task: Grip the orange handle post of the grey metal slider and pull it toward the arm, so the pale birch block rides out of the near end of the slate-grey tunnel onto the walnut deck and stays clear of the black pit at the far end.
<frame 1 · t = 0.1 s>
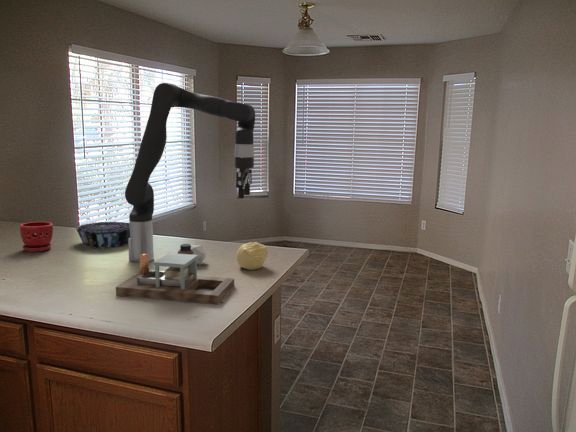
hand: (244, 196, 190), 29 cm above the worktop, tool pointing down, fingers open, 8 cm apart
die: (195, 264, 199), on the worktop
supplement bottle: (185, 273, 186), on the worktop
slider: (164, 268, 165), point 8 cm above the worktop, slide at 0.0 cm
plant pot: (38, 249, 216), on the worktop
decorative bowl: (106, 243, 230), on the worktop
tunnel: (176, 270, 165), on the deck, point 7 cm above the worktop
deck: (177, 290, 166), on the worktop
block: (177, 282, 165), point 3 cm above the worktop, touching deck
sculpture: (251, 268, 195), on the worktop
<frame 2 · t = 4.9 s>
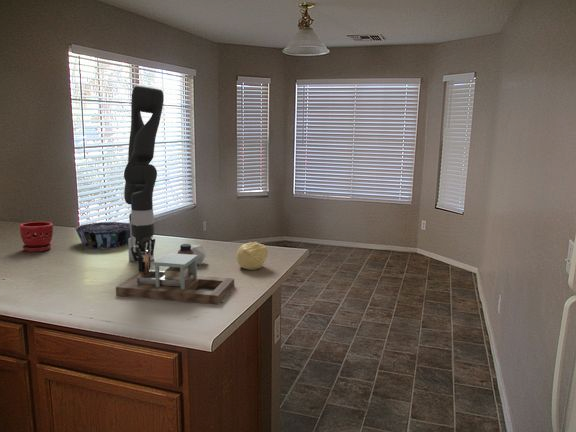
hand: (144, 270, 167), 7 cm above the worktop, tool pointing down, fingers closed on slider, 3 cm apart
slider: (164, 268, 165), point 8 cm above the worktop, slide at 0.0 cm, touching gripper
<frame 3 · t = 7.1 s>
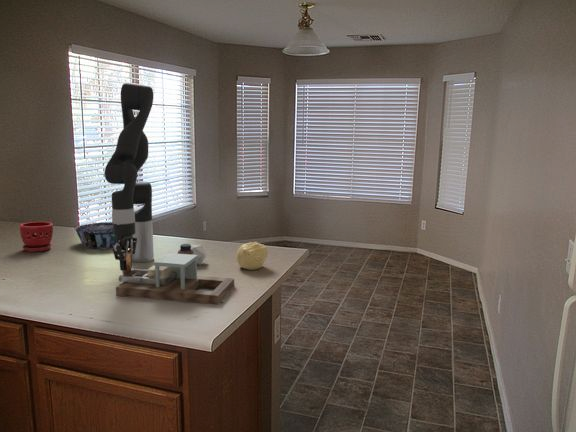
hand: (126, 268, 168), 7 cm above the worktop, tool pointing down, fingers closed on slider, 3 cm apart
slider: (146, 267, 167), point 8 cm above the worktop, slide at 6.9 cm, touching gripper
block: (160, 281, 167), point 3 cm above the worktop, touching deck
everything else where it was.
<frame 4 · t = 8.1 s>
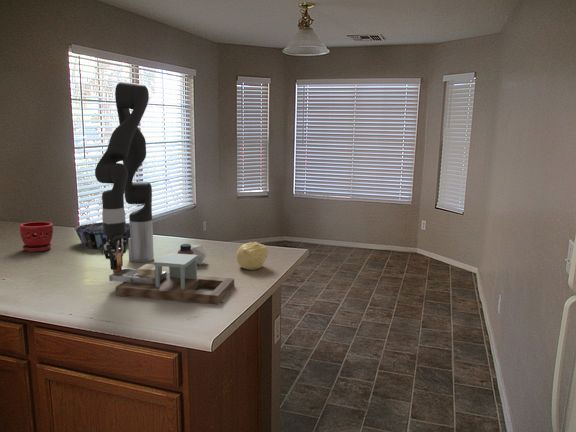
hand: (116, 267, 169), 7 cm above the worktop, tool pointing down, fingers closed on slider, 3 cm apart
slider: (136, 266, 167), point 8 cm above the worktop, slide at 10.4 cm, touching block, gripper
block: (150, 280, 167), point 3 cm above the worktop, touching slider
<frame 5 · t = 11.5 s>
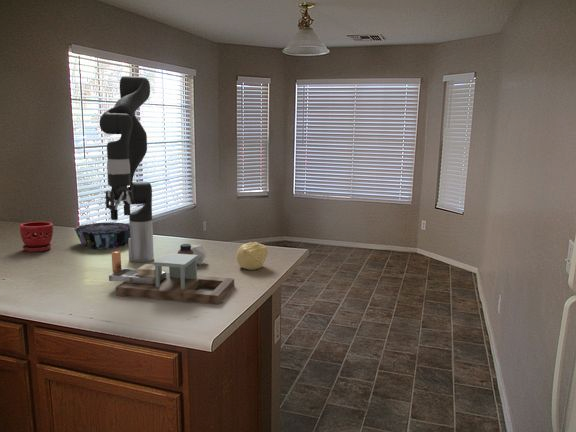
hand: (121, 217, 169), 24 cm above the worktop, tool pointing down, fingers open, 8 cm apart
slider: (136, 266, 167), point 8 cm above the worktop, slide at 10.6 cm, touching block
block: (150, 280, 167), point 3 cm above the worktop, touching deck, slider
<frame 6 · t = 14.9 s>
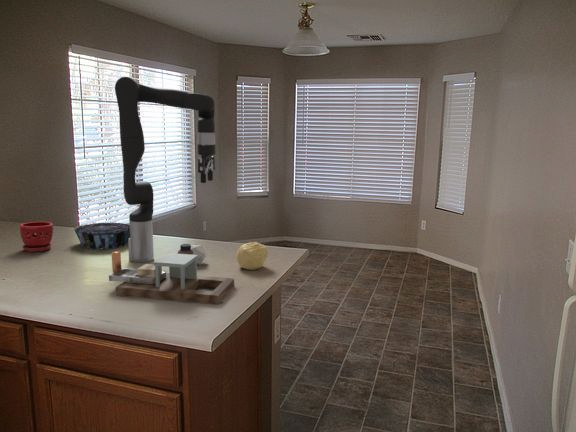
hand: (206, 181, 204), 33 cm above the worktop, tool pointing down, fingers open, 8 cm apart
at the end: slider slide at 10.6 cm; block inside the target area on the deck (2.2 cm from its centre), point 3.0 cm above the deck's base; block tilted 0° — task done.
